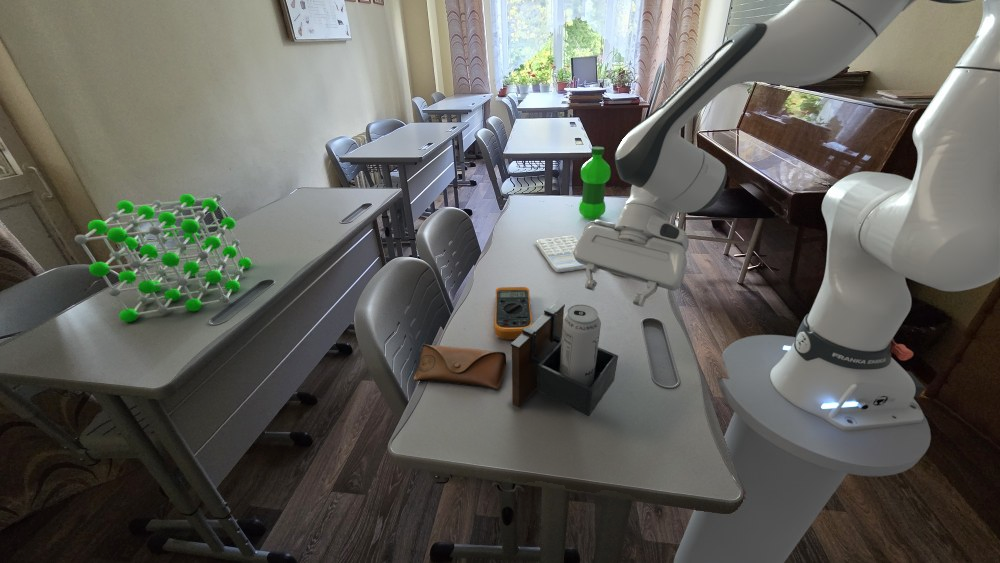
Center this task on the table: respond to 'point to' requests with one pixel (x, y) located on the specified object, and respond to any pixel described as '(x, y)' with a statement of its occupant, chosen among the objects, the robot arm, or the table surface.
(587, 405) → the dark grey open box
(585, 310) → the energy drink can
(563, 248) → the calculator
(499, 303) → the multimeter
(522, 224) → the table surface
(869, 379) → the robot arm
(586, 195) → the plastic bottle
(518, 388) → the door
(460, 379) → the sunglasses case
